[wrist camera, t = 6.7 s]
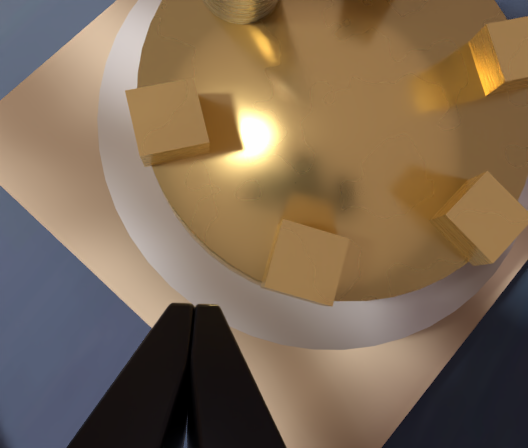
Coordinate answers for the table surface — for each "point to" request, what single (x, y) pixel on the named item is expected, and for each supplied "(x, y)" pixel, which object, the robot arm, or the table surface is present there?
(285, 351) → the cap housing
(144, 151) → the round base with post
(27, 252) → the table surface
